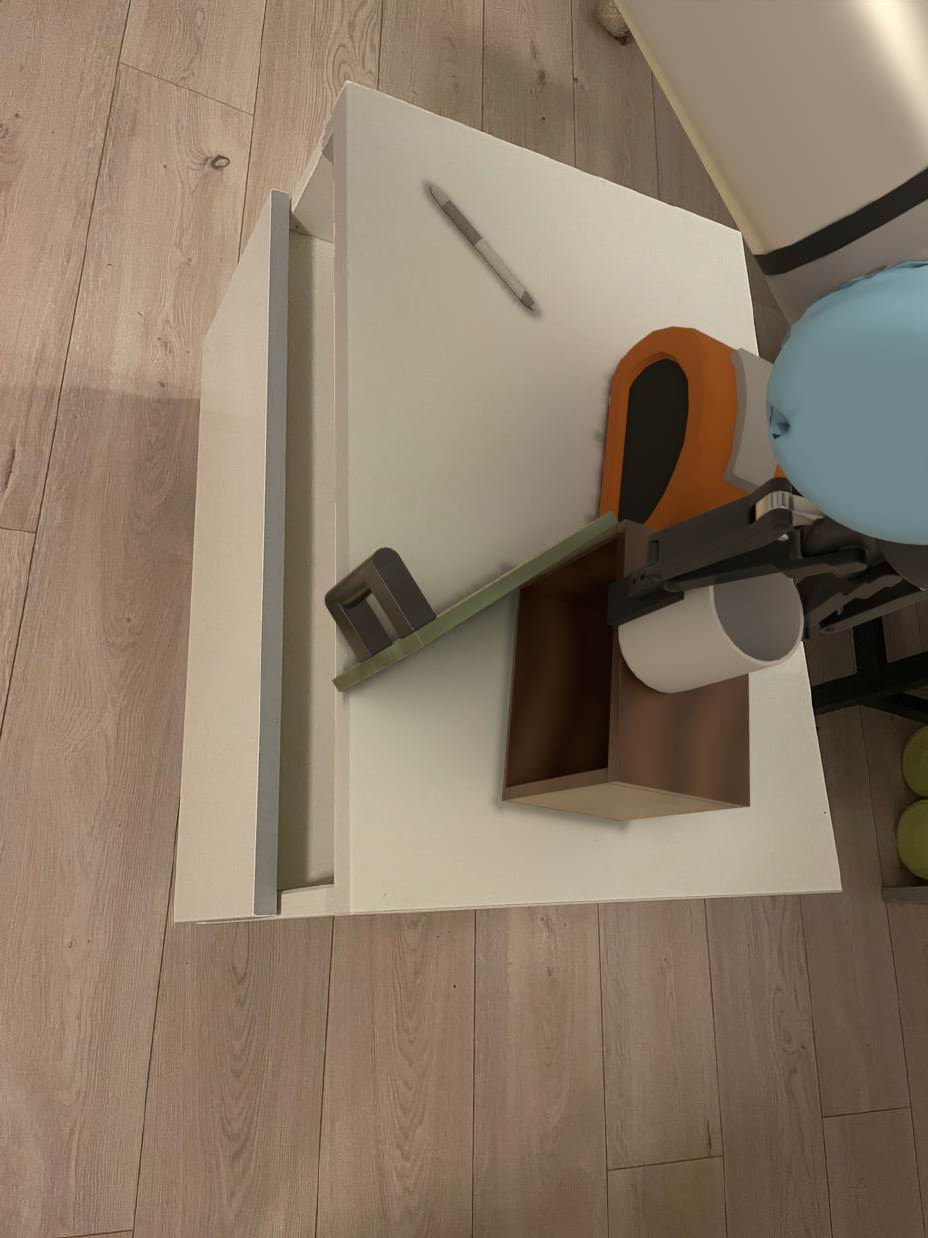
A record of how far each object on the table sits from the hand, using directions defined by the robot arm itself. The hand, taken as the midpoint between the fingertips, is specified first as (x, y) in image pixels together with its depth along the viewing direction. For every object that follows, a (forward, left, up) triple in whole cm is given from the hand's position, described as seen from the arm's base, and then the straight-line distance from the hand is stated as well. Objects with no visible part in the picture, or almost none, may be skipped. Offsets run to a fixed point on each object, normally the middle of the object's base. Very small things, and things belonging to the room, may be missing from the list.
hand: (662, 619), depth 61 cm
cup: (0, 0, 0) cm, 1 cm away
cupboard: (+2, +3, -16) cm, 16 cm away
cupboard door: (-3, -12, -16) cm, 20 cm away
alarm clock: (-19, +9, -16) cm, 27 cm away
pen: (-37, -9, -16) cm, 41 cm away
